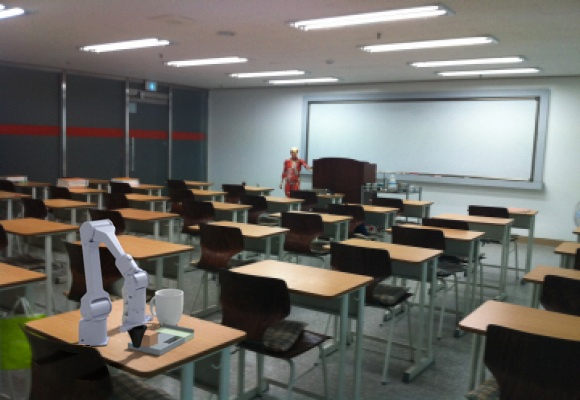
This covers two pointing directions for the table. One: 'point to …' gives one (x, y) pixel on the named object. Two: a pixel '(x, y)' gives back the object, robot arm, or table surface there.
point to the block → (150, 338)
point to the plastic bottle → (125, 305)
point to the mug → (167, 306)
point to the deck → (167, 339)
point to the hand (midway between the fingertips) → (136, 347)
